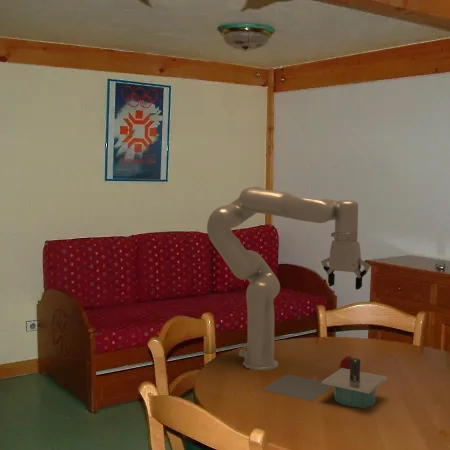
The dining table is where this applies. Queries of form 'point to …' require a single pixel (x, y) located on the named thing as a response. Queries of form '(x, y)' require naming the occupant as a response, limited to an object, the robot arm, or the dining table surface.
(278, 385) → the mat
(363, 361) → the dining table surface
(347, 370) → the lid
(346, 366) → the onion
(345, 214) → the robot arm
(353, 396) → the bowl
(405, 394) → the dining table surface
